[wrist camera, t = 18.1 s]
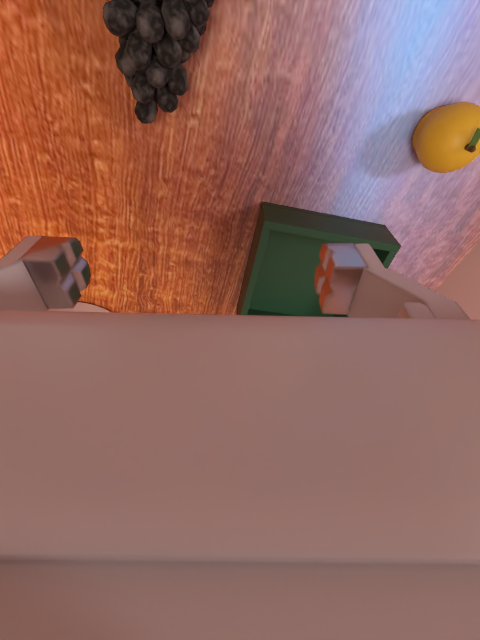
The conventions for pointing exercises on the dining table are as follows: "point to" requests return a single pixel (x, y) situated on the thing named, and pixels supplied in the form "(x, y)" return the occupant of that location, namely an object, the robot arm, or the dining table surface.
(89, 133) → the dining table surface
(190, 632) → the robot arm
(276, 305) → the crate
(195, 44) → the fruit
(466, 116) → the orange
